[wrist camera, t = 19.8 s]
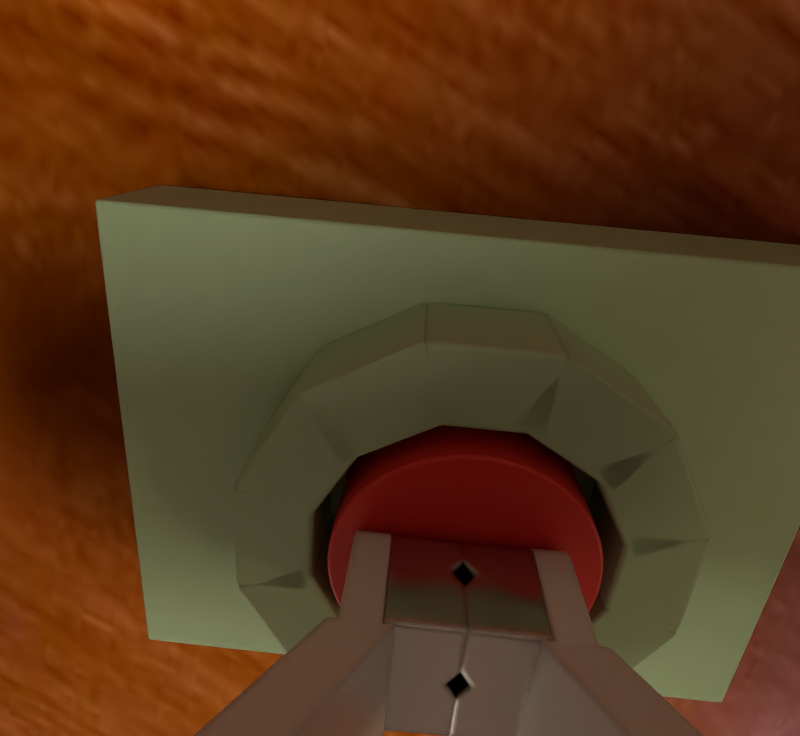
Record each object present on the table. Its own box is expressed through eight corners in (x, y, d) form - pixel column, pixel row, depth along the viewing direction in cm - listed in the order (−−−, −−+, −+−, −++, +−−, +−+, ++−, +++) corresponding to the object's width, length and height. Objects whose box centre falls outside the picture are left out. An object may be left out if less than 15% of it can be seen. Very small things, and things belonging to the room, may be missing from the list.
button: (600, 410, 9) (635, 472, 8) (553, 601, 11) (574, 686, 9) (349, 385, 9) (331, 441, 8) (339, 578, 11) (322, 658, 9)
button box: (819, 246, 10) (1029, 315, 7) (681, 619, 14) (768, 798, 10) (158, 184, 11) (10, 218, 7) (188, 566, 14) (101, 722, 11)
